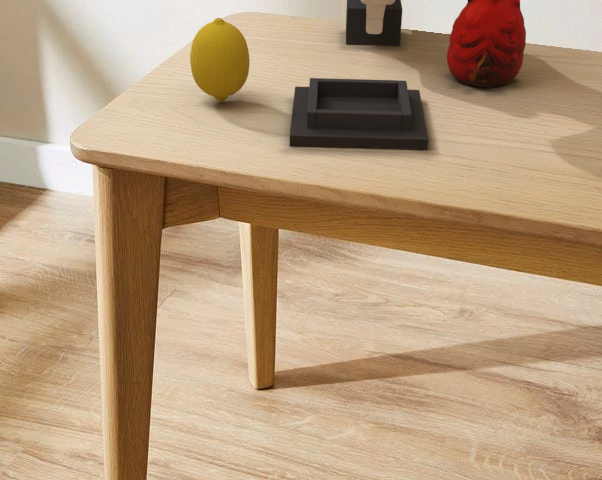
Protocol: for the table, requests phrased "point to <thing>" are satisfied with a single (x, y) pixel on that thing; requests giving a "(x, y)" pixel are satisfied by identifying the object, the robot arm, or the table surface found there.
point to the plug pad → (358, 25)
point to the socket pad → (358, 115)
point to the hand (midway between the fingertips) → (372, 22)
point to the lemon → (219, 59)
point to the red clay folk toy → (487, 43)
